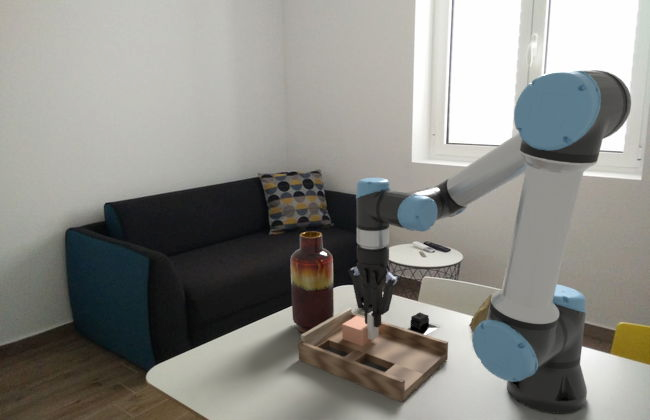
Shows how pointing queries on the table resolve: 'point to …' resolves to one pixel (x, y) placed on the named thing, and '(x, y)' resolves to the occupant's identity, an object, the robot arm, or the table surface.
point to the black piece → (421, 324)
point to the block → (355, 331)
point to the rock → (481, 314)
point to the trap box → (374, 356)
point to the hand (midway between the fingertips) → (373, 337)
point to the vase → (311, 282)
